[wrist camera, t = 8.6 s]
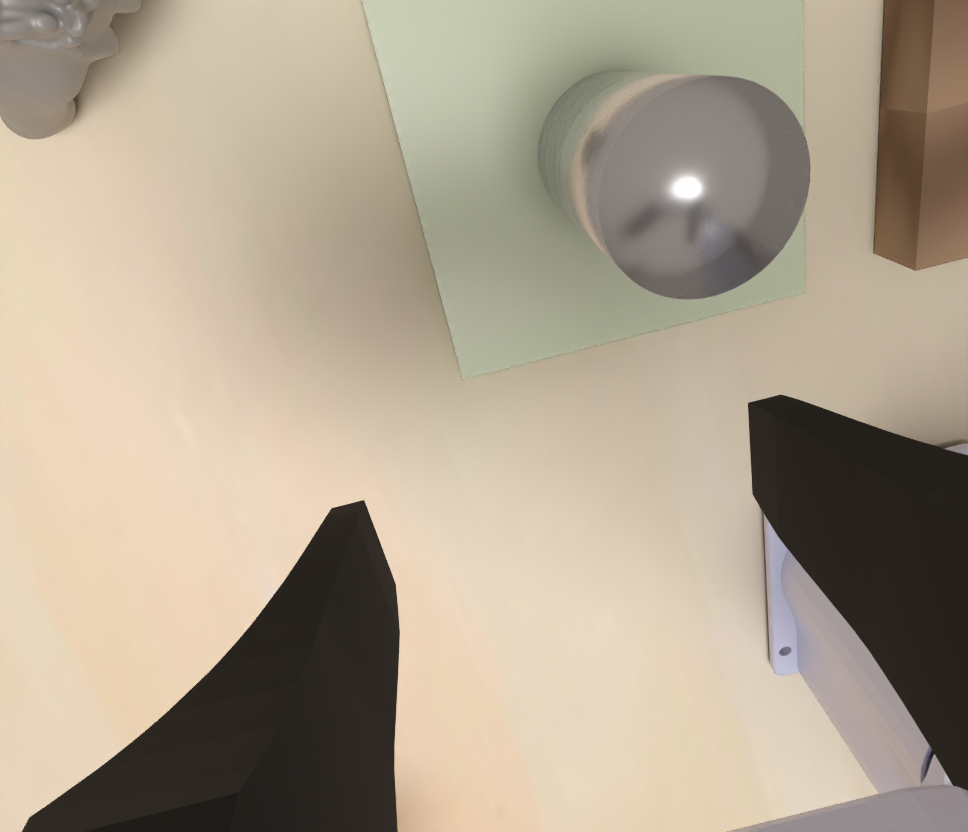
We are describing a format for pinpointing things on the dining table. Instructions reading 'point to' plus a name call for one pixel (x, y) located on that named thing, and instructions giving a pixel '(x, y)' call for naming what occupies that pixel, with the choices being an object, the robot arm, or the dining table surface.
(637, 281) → the metal peg
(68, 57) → the elephant statuette
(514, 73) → the sage pad
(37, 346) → the dining table surface
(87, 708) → the dining table surface
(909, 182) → the walnut holder
